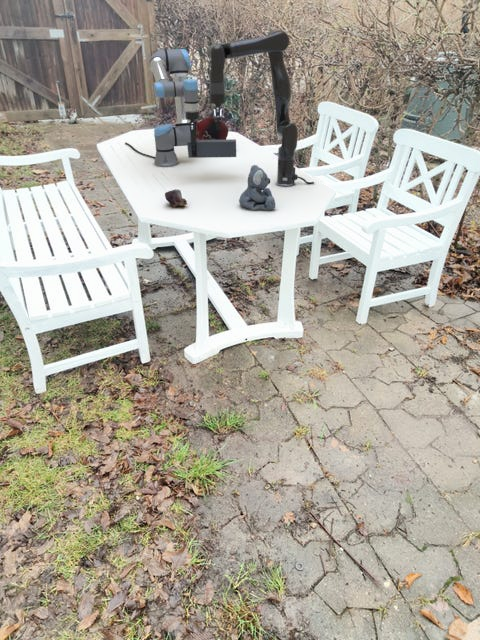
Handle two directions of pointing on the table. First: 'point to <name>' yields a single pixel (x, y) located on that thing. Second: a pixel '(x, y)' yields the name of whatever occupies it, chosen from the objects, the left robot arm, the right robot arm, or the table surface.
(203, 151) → the bar
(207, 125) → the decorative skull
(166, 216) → the table surface
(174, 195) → the rock
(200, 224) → the table surface
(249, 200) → the koala plush
